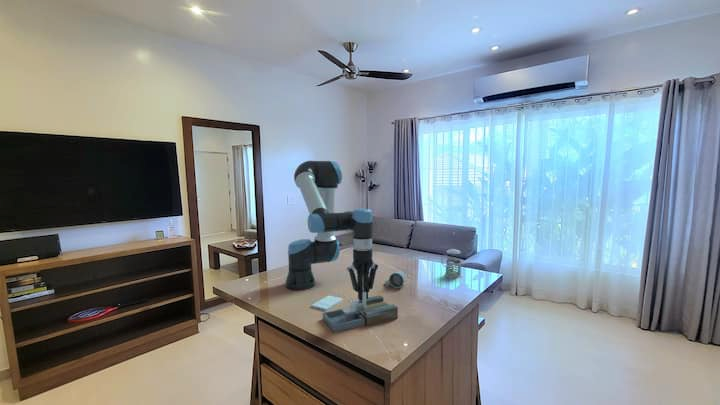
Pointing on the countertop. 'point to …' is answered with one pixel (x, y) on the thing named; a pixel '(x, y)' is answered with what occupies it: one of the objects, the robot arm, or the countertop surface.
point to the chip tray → (341, 321)
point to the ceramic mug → (396, 279)
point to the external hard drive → (327, 303)
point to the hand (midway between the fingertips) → (363, 307)
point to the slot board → (378, 318)
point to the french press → (456, 262)
